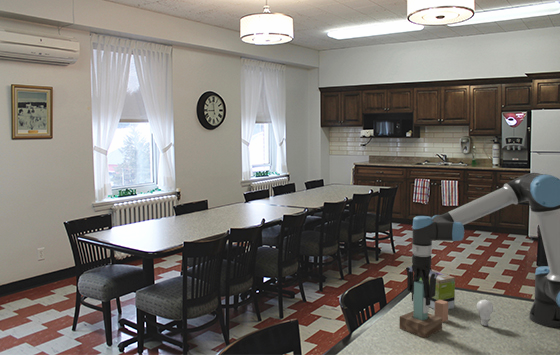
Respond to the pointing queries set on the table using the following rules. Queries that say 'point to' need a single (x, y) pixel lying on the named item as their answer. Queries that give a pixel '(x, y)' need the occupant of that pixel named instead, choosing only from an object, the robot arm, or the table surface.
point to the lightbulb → (484, 310)
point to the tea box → (443, 289)
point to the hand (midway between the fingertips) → (420, 310)
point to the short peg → (441, 309)
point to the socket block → (421, 324)
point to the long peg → (419, 301)
